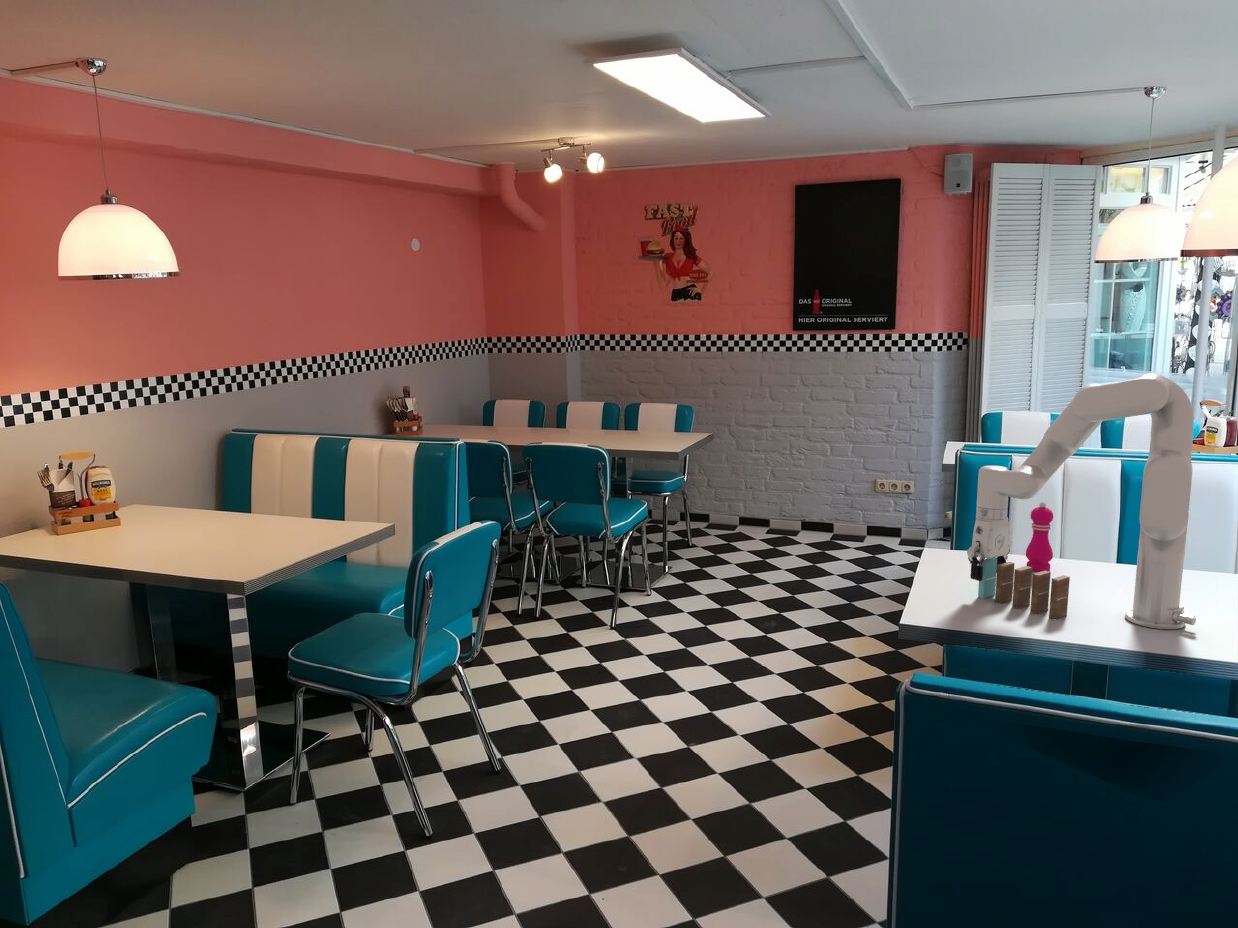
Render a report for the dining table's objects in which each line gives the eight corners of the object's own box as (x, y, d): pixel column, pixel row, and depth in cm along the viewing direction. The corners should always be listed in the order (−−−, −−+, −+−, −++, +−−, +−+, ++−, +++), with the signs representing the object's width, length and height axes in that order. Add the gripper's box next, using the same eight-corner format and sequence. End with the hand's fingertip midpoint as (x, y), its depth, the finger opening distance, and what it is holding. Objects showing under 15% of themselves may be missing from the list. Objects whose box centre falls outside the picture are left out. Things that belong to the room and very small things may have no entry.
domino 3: (1029, 605, 234) (1032, 567, 232) (1018, 608, 231) (1020, 570, 229) (1023, 603, 235) (1026, 565, 233) (1012, 607, 232) (1014, 569, 231)
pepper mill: (1046, 565, 268) (1051, 499, 265) (1055, 572, 261) (1060, 504, 258) (1021, 565, 269) (1025, 499, 266) (1029, 572, 262) (1034, 504, 259)
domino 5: (1066, 615, 225) (1069, 576, 224) (1055, 619, 223) (1058, 580, 221) (1060, 613, 227) (1063, 575, 225) (1048, 617, 224) (1051, 578, 222)
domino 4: (1048, 610, 230) (1050, 572, 228) (1036, 614, 227) (1038, 575, 225) (1041, 608, 231) (1044, 570, 229) (1030, 612, 228) (1032, 573, 227)
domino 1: (994, 595, 242) (997, 558, 240) (983, 598, 239) (985, 561, 238) (989, 593, 243) (991, 557, 242) (977, 596, 241) (980, 560, 239)
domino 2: (1012, 600, 238) (1014, 563, 236) (1000, 603, 235) (1002, 566, 233) (1006, 598, 239) (1008, 561, 238) (994, 601, 237) (997, 564, 235)
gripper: (983, 520, 230) (979, 585, 233) (1024, 511, 239) (1020, 574, 242) (958, 515, 236) (954, 578, 239) (999, 506, 245) (995, 568, 248)
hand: (987, 576), depth 240 cm, fingers open, 9 cm apart
